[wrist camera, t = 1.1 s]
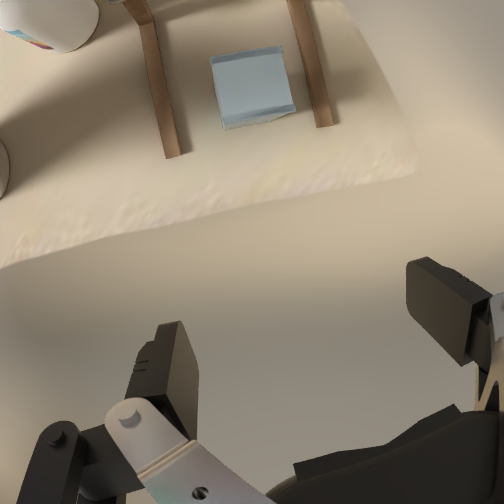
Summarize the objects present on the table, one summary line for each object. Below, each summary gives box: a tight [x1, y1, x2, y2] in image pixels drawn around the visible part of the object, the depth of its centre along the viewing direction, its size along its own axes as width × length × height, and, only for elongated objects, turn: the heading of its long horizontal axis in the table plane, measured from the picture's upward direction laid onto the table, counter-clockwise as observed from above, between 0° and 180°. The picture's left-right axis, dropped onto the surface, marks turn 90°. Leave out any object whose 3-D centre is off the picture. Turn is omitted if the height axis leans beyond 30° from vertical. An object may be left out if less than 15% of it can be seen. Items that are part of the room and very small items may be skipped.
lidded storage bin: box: [210, 46, 296, 130], centre depth 26 cm, size 5×5×11 cm
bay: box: [123, 0, 334, 159], centre depth 26 cm, size 18×17×8 cm
